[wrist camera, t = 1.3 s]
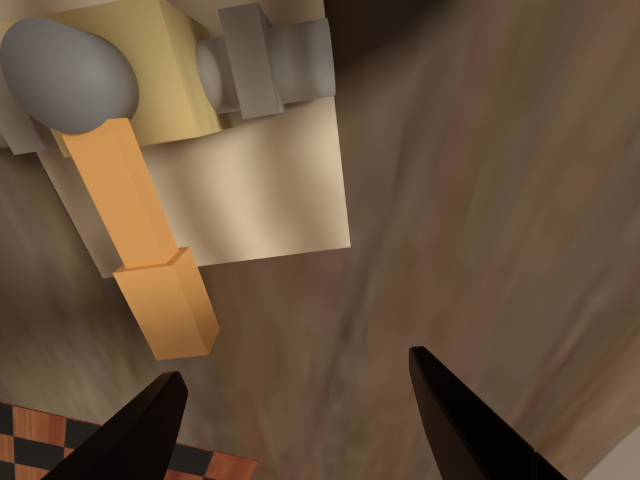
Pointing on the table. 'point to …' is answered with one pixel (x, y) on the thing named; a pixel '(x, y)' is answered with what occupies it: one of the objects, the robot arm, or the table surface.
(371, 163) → the table surface
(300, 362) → the table surface
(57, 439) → the chessboard
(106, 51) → the valve lever
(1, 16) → the valve plank
